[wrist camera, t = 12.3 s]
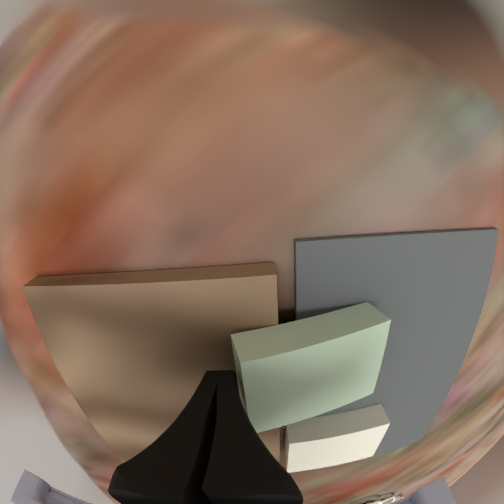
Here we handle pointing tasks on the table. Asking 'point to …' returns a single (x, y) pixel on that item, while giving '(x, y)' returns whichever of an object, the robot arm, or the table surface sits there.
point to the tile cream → (334, 438)
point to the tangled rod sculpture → (387, 500)
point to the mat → (403, 311)
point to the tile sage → (309, 364)
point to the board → (149, 340)
